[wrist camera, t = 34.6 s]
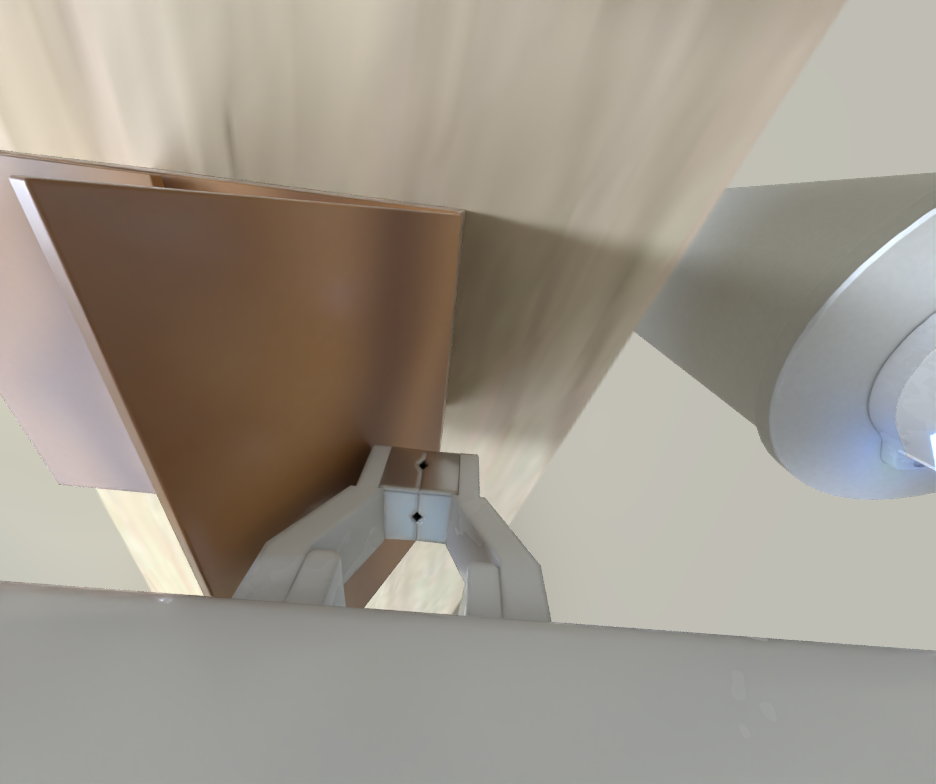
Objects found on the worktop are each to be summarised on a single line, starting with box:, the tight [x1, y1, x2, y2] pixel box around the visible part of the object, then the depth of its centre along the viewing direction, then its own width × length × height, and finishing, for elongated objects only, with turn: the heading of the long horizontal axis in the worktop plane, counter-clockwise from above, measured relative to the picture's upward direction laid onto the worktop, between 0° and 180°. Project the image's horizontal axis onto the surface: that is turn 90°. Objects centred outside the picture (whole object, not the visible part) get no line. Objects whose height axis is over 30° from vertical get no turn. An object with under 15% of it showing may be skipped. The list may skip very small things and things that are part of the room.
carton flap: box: [9, 174, 461, 608], centre depth 9 cm, size 8×13×1 cm
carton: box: [0, 150, 465, 494], centre depth 17 cm, size 17×13×10 cm
